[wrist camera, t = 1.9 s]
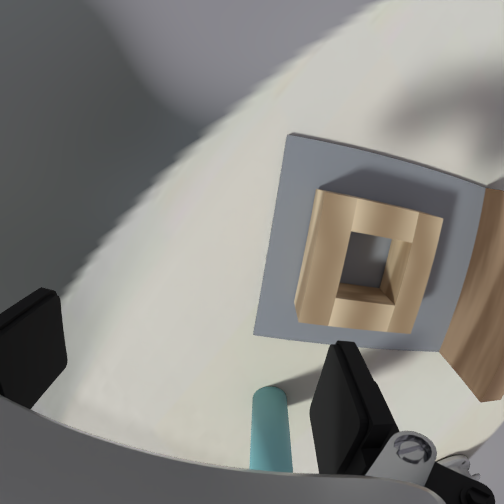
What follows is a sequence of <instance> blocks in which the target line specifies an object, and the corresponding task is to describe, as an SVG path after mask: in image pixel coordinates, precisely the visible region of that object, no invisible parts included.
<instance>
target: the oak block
mask: <svg viewBox="0 0 504 504" xmlns="http://www.w3.org/2000/svg"><path fill="white" fill-rule="evenodd" d="M442 223H443V218H440V217H437V216H434V215H431V214H428V213H425V212H421V211H417V210H413V209H409V208H405V207H401V206H396V205H392V204H388V203H383V202H379V201H374V200H370V199H365V198H360V197H356V196H351V195H346V194H341V193H336V192H331V191H326V190H321V189H316V192H315V198H314V203H313V209H312V214H311V220H310V225H309V230H308V236H307V241H306V246H305V251H304V256H303V261H302V266H301V271H300V276H299V281H298V285H297V290H296V295H295V300H294V305H295V309H296V313H297V318H298V322H300V323H307V324H315V325H324V326H332V327H341V328H351V329H361V330H371V331H382V332H393V333H405V334H411V331H412V328H413V325H414V323H415V320H416V317H417V314H418V311H419V308H420V305H421V302H422V298H423V295H424V292H425V289H426V285H427V282H428V279H429V275H430V271H431V268H432V264H433V260H434V257H435V253H436V249H437V245H438V241H439V236H440V232H441V227H442ZM351 231H353V232H358V233H364V234H369V235H374V236H380V237H385V238H390V239H392V241H391V245H390V249H389V253H388V258H387V262H386V266H385V269H384V273H383V277H382V281H381V285H380V288H374V287H367V286H360V285H353V284H346V283H339V282H340V278H341V274H342V270H343V265H344V261H345V257H346V252H347V248H348V243H349V238H350V234H351Z"/></svg>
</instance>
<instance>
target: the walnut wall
mask: <svg viewBox="0 0 504 504" xmlns="http://www.w3.org/2000/svg"><path fill="white" fill-rule="evenodd" d="M439 352H440V354H441V355H442V356H443V357H444V358H445V359H446V361H447V362H448V363H449V364H450V365H451V367H452V368H453V369H454V370H455V371H456V373H457V374H458V375H459V376H460V377H461V379H462V380H463V381H464V382H465V384H466V385H467V386H468V387H469V389H470V390H471V391H472V392H473V394H474V395H475V396H476V397H477V399H478V400H479V401H480V402H487V401H495V400H501V398H502V396H503V394H504V191H502V190H495V189H489V188H485V195H484V200H483V206H482V211H481V216H480V221H479V226H478V230H477V235H476V239H475V243H474V247H473V251H472V255H471V259H470V263H469V266H468V270H467V273H466V277H465V280H464V283H463V287H462V290H461V293H460V296H459V299H458V302H457V305H456V308H455V311H454V314H453V317H452V319H451V322H450V325H449V328H448V330H447V333H446V335H445V338H444V340H443V343H442V345H441V348H440V350H439Z"/></svg>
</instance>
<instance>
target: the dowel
mask: <svg viewBox="0 0 504 504" xmlns="http://www.w3.org/2000/svg"><path fill="white" fill-rule="evenodd" d="M250 469H253V470H263V471H274V472H289V473H293V467H292V455H291V443H290V431H289V420H288V409H287V398H286V394H285V393H284V391H283V390H281V389H279V388H277V387H271V386H270V387H263V388H261V389H259V390H258V391H256V392H255V394H254V396H253V405H252V427H251V448H250Z"/></svg>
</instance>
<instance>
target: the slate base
mask: <svg viewBox="0 0 504 504" xmlns="http://www.w3.org/2000/svg"><path fill="white" fill-rule="evenodd" d="M316 189H321V190H326V191H331V192H336V193H341V194H346V195H351V196H356V197H360V198H365V199H370V200H374V201H379V202H383V203H388V204H392V205H396V206H401V207H405V208H409V209H413V210H417V211H421V212H425V213H428V214H431V215H434V216H437V217H440V218H443V223H442V227H441V232H440V236H439V241H438V245H437V249H436V253H435V257H434V260H433V264H432V268H431V271H430V275H429V279H428V282H427V285H426V289H425V292H424V295H423V298H422V302H421V305H420V308H419V311H418V314H417V317H416V320H415V323H414V325H413V328H412V331H411V334H405V333H393V332H382V331H371V330H361V329H351V328H341V327H332V326H324V325H315V324H307V323H300V322H298V318H297V313H296V309H295V305H294V300H295V295H296V290H297V285H298V281H299V276H300V271H301V266H302V261H303V256H304V251H305V246H306V241H307V236H308V230H309V225H310V220H311V214H312V209H313V203H314V198H315V192H316ZM484 195H485V188H484V187H482V186H479V185H476V184H474V183H471V182H468V181H465V180H462V179H459V178H456V177H454V176H451V175H448V174H444V173H441V172H438V171H435V170H432V169H429V168H426V167H422V166H419V165H416V164H412V163H409V162H405V161H402V160H398V159H394V158H391V157H387V156H383V155H379V154H375V153H371V152H367V151H363V150H359V149H355V148H351V147H346V146H342V145H337V144H333V143H328V142H323V141H318V140H313V139H308V138H303V137H298V136H292V135H287V138H286V144H285V150H284V157H283V163H282V169H281V175H280V181H279V187H278V193H277V200H276V206H275V212H274V218H273V223H272V229H271V235H270V241H269V247H268V253H267V259H266V264H265V270H264V276H263V282H262V287H261V293H260V299H259V304H258V310H257V316H256V321H255V327H254V332H253V335H257V336H264V337H271V338H279V339H287V340H295V341H303V342H312V343H321V344H330V345H331V344H335V343H336V342H337V341H338V340H339V341H351V342H355V343H356V345H357V347H364V348H377V349H391V350H409V351H432V352H439V350H440V348H441V345H442V343H443V340H444V338H445V335H446V333H447V330H448V328H449V325H450V322H451V319H452V317H453V314H454V311H455V308H456V305H457V302H458V299H459V296H460V293H461V290H462V287H463V283H464V280H465V277H466V273H467V270H468V266H469V263H470V259H471V255H472V251H473V247H474V243H475V239H476V235H477V230H478V226H479V221H480V216H481V211H482V206H483V200H484ZM391 241H392V239H390V238H385V237H380V236H374V235H369V234H364V233H358V232H353V231H351V234H350V238H349V243H348V248H347V252H346V257H345V261H344V265H343V270H342V274H341V278H340V282H339V283H346V284H353V285H360V286H367V287H374V288H380V285H381V281H382V277H383V273H384V269H385V266H386V262H387V258H388V253H389V249H390V245H391Z"/></svg>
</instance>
